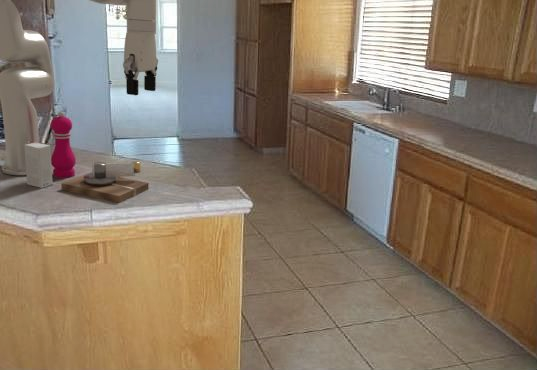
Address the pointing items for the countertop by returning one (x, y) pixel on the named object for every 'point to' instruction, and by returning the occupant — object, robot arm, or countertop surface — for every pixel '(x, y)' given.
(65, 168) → the pepper mill
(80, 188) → the walnut board
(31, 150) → the skincare box
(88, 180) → the dial
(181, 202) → the countertop surface
